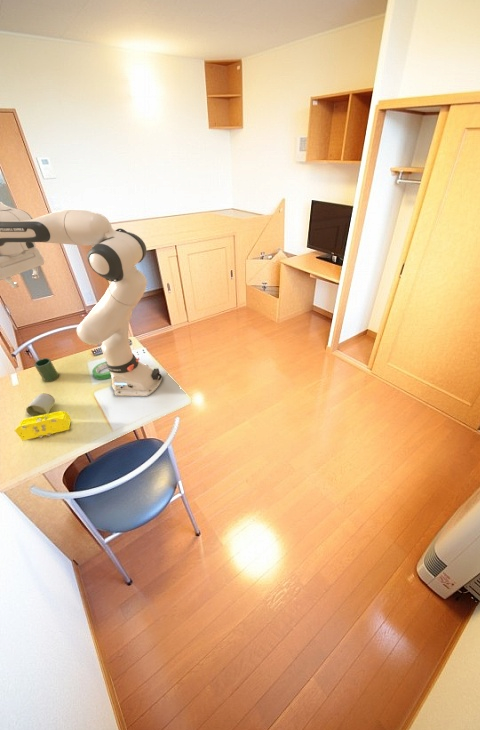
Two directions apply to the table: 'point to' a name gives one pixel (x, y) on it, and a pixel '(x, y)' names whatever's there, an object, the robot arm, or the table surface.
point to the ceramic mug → (40, 405)
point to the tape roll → (101, 375)
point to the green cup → (46, 369)
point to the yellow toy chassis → (43, 425)
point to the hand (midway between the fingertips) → (26, 283)
